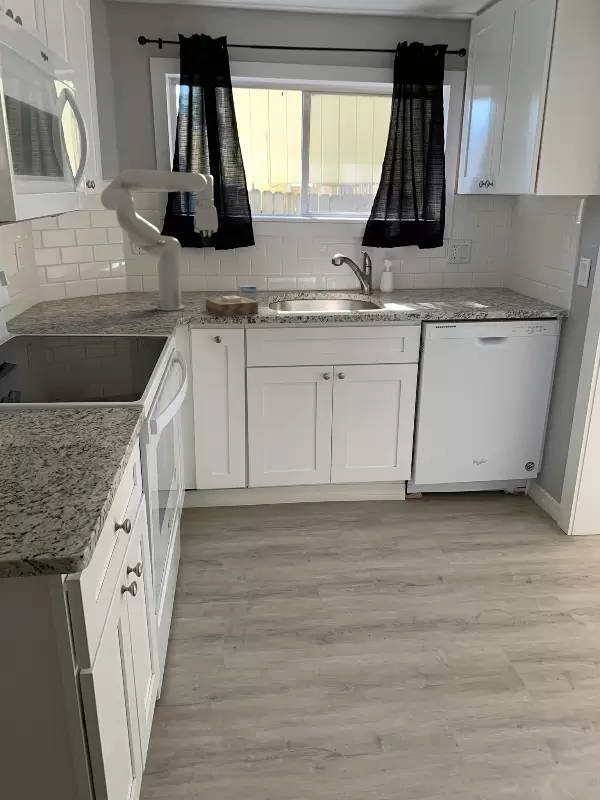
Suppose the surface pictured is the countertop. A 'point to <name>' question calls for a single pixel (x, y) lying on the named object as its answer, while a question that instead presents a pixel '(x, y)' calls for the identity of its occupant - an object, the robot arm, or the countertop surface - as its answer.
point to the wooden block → (231, 306)
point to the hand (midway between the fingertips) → (206, 245)
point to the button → (231, 298)
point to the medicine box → (248, 292)
